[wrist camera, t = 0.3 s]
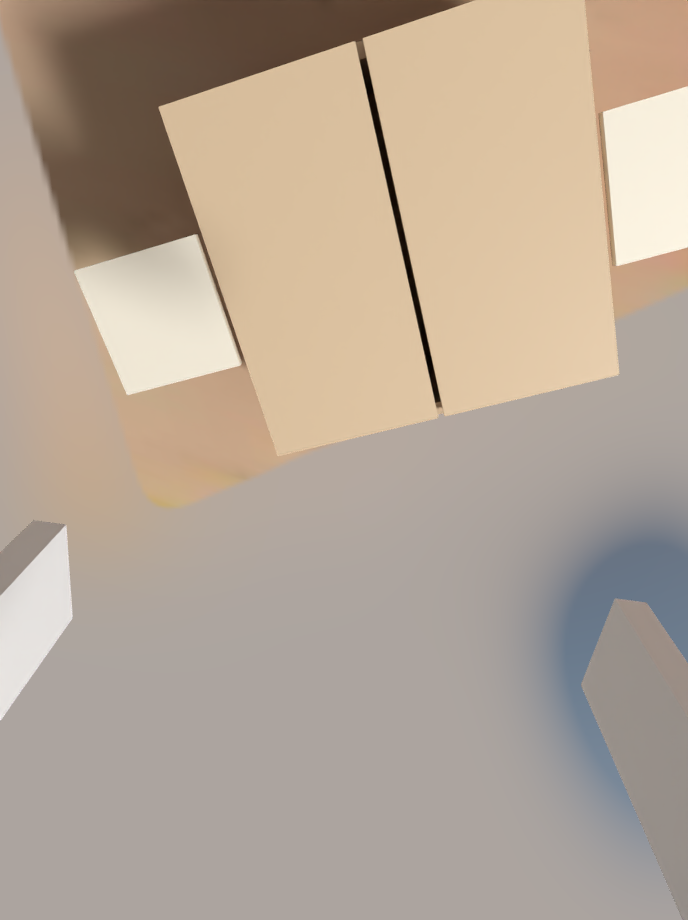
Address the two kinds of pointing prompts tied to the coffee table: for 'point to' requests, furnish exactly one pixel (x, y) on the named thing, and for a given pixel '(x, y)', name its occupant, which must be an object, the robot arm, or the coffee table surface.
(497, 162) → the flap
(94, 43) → the coffee table surface
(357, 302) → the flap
